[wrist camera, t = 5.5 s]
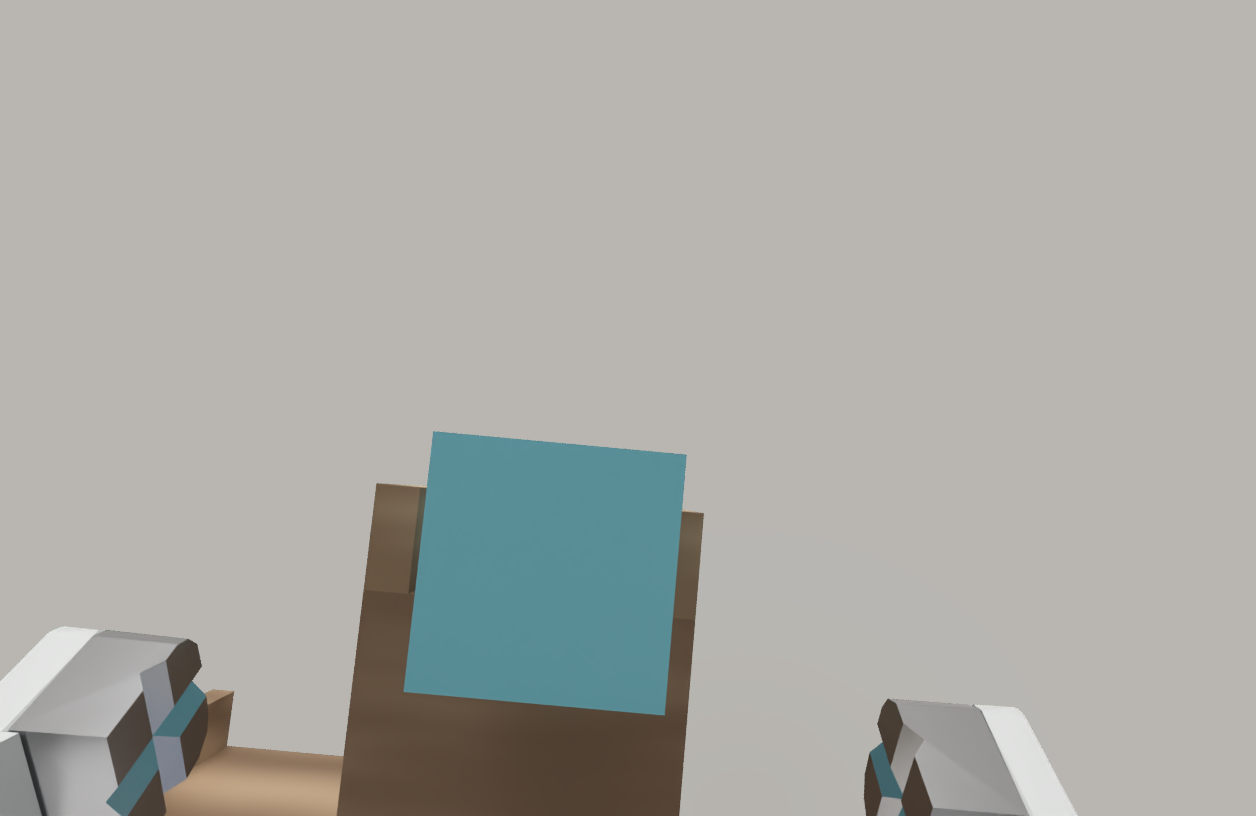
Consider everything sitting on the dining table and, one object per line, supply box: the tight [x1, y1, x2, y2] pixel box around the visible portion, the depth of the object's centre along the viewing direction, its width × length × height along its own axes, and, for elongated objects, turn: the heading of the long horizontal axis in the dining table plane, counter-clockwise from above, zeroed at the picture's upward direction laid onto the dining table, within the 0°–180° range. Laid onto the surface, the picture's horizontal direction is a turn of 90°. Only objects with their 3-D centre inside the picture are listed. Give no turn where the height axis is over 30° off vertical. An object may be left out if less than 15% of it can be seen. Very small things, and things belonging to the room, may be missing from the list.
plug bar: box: [404, 432, 687, 715], centre depth 21 cm, size 21×3×3 cm, turn 1°
